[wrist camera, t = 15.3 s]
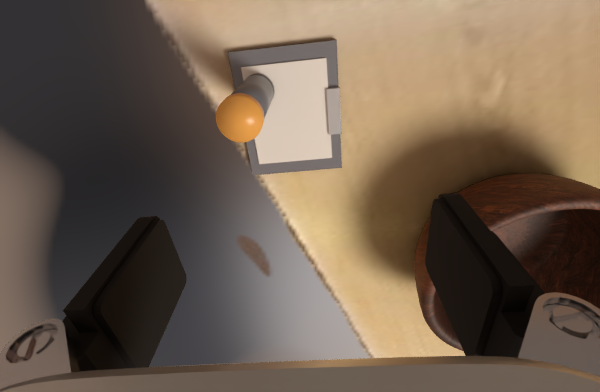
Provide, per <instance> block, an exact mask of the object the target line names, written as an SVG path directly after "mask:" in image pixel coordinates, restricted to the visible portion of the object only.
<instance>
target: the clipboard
mask: <svg viewBox="0 0 600 392" xmlns="http://www.w3.org/2000/svg"><path fill="white" fill-rule="evenodd" d="M228 57H229V61H230V66H231V71H232V76H233V81H234V86H235V90H236V89H237V88H238V87H239V86H240V85H241V84H242V82H243V81H244V80H245V79H246V78H247V77H248V76H250V75H252V74H255V73H260V74H263V75H266V76H267V77H268V78H269V79H270V80H271V81H272V83H273V85H274V90H275V93H274V97H273V99H272V102H271V104H270V106H269V109H268V111H267V113H266V116H265V118H264V123H263V126H262V128H261V131H260V133H259V134H258V135H257V137H255V138H254V139H253V140H251V141H248V142H246V144H247V149H248V154H249V159H250V163H251V168H252V173H253V175H261V174H273V173H285V172H297V171H308V170H320V169H332V168H342V163H341V138H340V134H342V133H341V107H340V87H338V65H337V40H328V41H320V42H311V43H302V44H294V45H285V46H276V47H268V48H259V49H250V50H242V51H233V52H228Z"/></svg>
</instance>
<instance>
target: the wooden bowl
mask: <svg viewBox="0 0 600 392" xmlns="http://www.w3.org/2000/svg"><path fill="white" fill-rule="evenodd" d="M458 193H459V194H461V195H462V197H463V198H464V199H465V200H466V202H467V203H468V204H469V205H470V206H471V208H472V209H473V210H474V211H475V212H476V214H477V215H478V216H479V217H480V219H481V220H482V221H483V222H484V223H485V225H486V226H487V227H488V228H489V230H490V231H493V232H494V233H495V234H496V235H497V236H498V237H499V238H500V240H501V241H502V242H503V243H504V244H505V246H506V247H507V248H508V249H509V250H510V252H511V253H512V254H513V255H514V256H515V258H516V259H517V260H518V261H519V262H520V263H521V265H522V266H523V267H524V268H525V269H526V271H527V272H528V273H529V274H530V275H531V277H532V278H533V279H534V280H535V281H536V283H537V284H538V285H539V286H540V287H541V289H542V290H543V291H544V292H545V293H553V292H556V293H565V294H569V295H572V296H576V297H578V298H581V299H583V300H585V301H587V302H589V303H591V304H592V305H594V306H595V307H597V308H599V309H600V189H598V188H596V187H593V186H590V185H588V184H585V183H582V182H579V181H575V180H572V179H569V178H564V177H559V176H554V175H548V174H536V173H519V174H509V175H502V176H497V177H493V178H489V179H486V180H483V181H480V182H478V183H475V184H473V185H471V186H469V187H466V188H465V189H463V190H461V191H459V192H458ZM430 220H431V217H430V218H429V220H428V222H427V223H426V225H425V227H424V229H423V231H422V232H421V235H420V237H419V240H418V244H417V248H416V253H415V280H416V287H417V292H418V297H419V302H420V306H421V309H422V313H423V316H424V318H425V321H426V323H427V324H428V326H429V327H430V328H431V330H432V331H433V332H434V333H435V334H436V336H438V337H439V338H440V339H441V340H442V341H444V342H445V343H447V344H449V345H450V346H452V347H454V348H457V349H459V350H462V351H463V349H462V346H461V344H460V342H459V340H458V338H457V335H456V333H455V331H454V329H453V327H452V324H451V322H450V320H449V318H448V316H447V313H446V311H445V309H444V307H443V305H442V302H441V300H440V298H439V296H438V294H437V291H436V289H435V287H434V285H433V283H432V280H431V278H430V276H429V274H428V272H427V269H426V265H425V257H426V249H427V242H428V235H429V227H430Z"/></svg>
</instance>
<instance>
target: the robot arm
mask: <svg viewBox="0 0 600 392" xmlns="http://www.w3.org/2000/svg"><path fill="white" fill-rule="evenodd" d="M425 265H426V269H427V272H428V274H429V276H430V278H431V280H432V283H433V285H434V287H435V289H436V291H437V294H438V296H439V298H440V300H441V302H442V305H443V307H444V309H445V311H446V313H447V316H448V318H449V320H450V322H451V324H452V327H453V329H454V331H455V333H456V335H457V338H458V340H459V342H460V344H461V346H462V349H463V351H464V353H465V355H466V356H438V357H396V358H367V359H341V360H340V359H339V360H338V359H337V360H312V361H311V360H309V361H285V362H259V363H236V364H211V365H210V364H209V365H190V366H189V365H187V366H165V367H149V365H150V363H151V360H152V358H153V356H154V354H155V351H156V349H157V347H158V345H159V342H160V340H161V338H162V336H163V334H164V331H165V329H166V327H167V325H168V322H169V320H170V318H171V315H172V313H173V311H174V309H175V307H176V304H177V302H178V300H179V298H180V295H181V293H182V291H183V289H184V287H185V284H186V273H185V271H184V269H183V266H182V264H181V262H180V259H179V256H178V254H177V251H176V249H175V246H174V244H173V241H172V239H171V236H170V234H169V231H168V229H167V226H166V224H165V222H164V221H163V220H160V219H159V218H158V217H157V216H151V217H140V218H138V219H137V220H136V222H135V223H134V224H133V225H132V227H131V228H130V229H129V230H128V231H127V233H126V234H125V235H124V236H123V238H122V239H121V240H120V241H119V243H118V244H117V245H116V246H115V247H114V249H113V250H112V251H111V252H110V254H109V255H108V256H107V257H106V259H105V260H104V261H103V262H102V263H101V265H100V266H99V267H98V268H97V270H96V271H95V272H94V273H93V275H92V276H91V277H90V278H89V280H88V281H87V282H86V283H85V284H84V286H83V287H82V288H81V289H80V290H79V292H78V293H77V294H76V296H75V297H74V298H73V299H72V300H71V301H70V303H69V304H68V305H67V306H66V308H65V309H64V310H63V311H64V313H65V314H66V315H67V316H66V317H65V319H64V320H63V321H61V320H59V319H48V320H43V321H40V322H38V323H36V324H33V325H31V326H30V327H28V328H26V329H24V330H23V331H21V332H20V333H18V334H17V335H16V336H15V337H13V338H12V340H10V341H9V342H8V343H7V344H6V346H5V347H4V348H3V350H2V351H1V353H0V392H600V309H599V308H597V307H595V306H594V305H592V304H591V303H589V302H587V301H585V300H583V299H581V298H578V297H576V296H572V295H569V294H565V293H556V292H553V293H545V292H544V291H543V290H542V289H541V287H540V286H539V285H538V284H537V283H536V281H535V280H534V279H533V278H532V277H531V275H530V274H529V273H528V272H527V271H526V269H525V268H524V267H523V266H522V265H521V263H520V262H519V261H518V260H517V259H516V258H515V256H514V255H513V254H512V253H511V252H510V250H509V249H508V248H507V247H506V246H505V244H504V243H503V242H502V241H501V240H500V238H499V237H498V236H497V235H496V234H495V233H494V232H493V231H490V230H489V228H488V227H487V226H486V225H485V223H484V222H483V221H482V220H481V219H480V217H479V216H478V215H477V214H476V212H475V211H474V210H473V209H472V208H471V206H470V205H469V204H468V203H467V202H466V200H465V199H464V198H463V197H462V195H461V194H459V193H452V194H441V195H439V197H438V199H434V201H433V205H432V212H431V220H430V227H429V235H428V242H427V249H426V257H425Z"/></svg>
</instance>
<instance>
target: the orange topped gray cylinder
mask: <svg viewBox="0 0 600 392" xmlns="http://www.w3.org/2000/svg"><path fill="white" fill-rule="evenodd" d="M274 93H275V90H274V85H273V83H272V81H271V80H270V79H269V78H268V77H267V76H266V75H263V74H260V73H255V74H252V75H250V76H248V77H247V78H246V79H245V80H244V81H243V82H242V84H241V85H240V86H239V87H238V88H237V89H236V90H235V91H234V92H233V93H232V94H231V95H230V96H228V97H227V98H226V99H225V100H224V101H223V102H222V103H221V104H220V105H219V107H218V109H217V112H216V122H217V125H218V128H219V130H220V131H221V132H222V133H223V135H224V136H226V137H227V138H229V139H230V140H232V141H235V142H248V141H251V140H253V139H254V138H255V137H257V135H258V134H259V133H260V131H261V128H262V126H263V123H264V118H265V116H266V113H267V111H268V109H269V106H270V104H271V102H272V99H273V97H274Z"/></svg>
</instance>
